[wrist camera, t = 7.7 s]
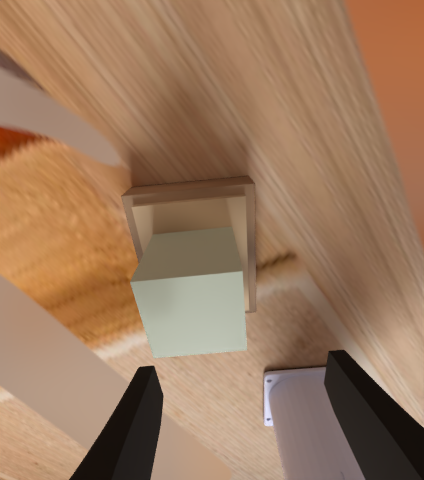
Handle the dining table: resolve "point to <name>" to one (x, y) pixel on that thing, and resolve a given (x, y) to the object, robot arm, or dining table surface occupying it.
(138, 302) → the sage block
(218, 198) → the plinth
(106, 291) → the dining table surface
